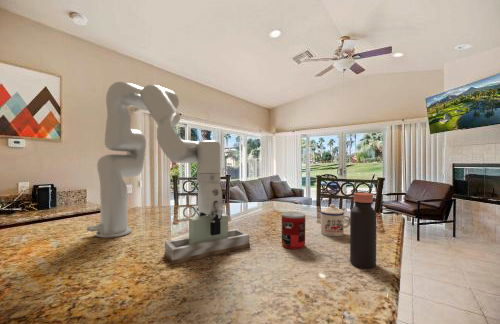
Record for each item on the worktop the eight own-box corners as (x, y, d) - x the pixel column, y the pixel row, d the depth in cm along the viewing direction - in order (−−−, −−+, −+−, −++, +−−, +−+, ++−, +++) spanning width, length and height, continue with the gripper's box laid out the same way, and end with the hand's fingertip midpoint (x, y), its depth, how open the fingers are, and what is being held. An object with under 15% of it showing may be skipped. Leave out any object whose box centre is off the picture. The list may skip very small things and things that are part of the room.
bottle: (374, 271, 66) (375, 196, 66) (347, 265, 70) (348, 194, 70) (377, 262, 72) (377, 193, 72) (352, 257, 76) (352, 191, 75)
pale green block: (193, 252, 77) (193, 220, 76) (189, 248, 80) (189, 217, 80) (228, 245, 83) (228, 215, 83) (222, 242, 87) (222, 213, 86)
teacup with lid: (323, 236, 96) (323, 206, 95) (317, 230, 105) (318, 202, 105) (355, 237, 95) (355, 206, 95) (346, 230, 104) (347, 202, 104)
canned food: (279, 242, 89) (279, 211, 89) (301, 241, 90) (301, 211, 90) (284, 250, 82) (284, 216, 82) (308, 249, 82) (308, 216, 82)
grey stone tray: (173, 264, 71) (173, 250, 70) (164, 253, 78) (164, 241, 78) (249, 246, 85) (250, 234, 85) (236, 239, 93) (236, 228, 93)
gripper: (232, 179, 76) (232, 235, 76) (208, 176, 91) (208, 223, 91) (209, 181, 72) (209, 240, 72) (188, 177, 86) (188, 226, 87)
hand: (209, 230), depth 81 cm, fingers open, 9 cm apart
